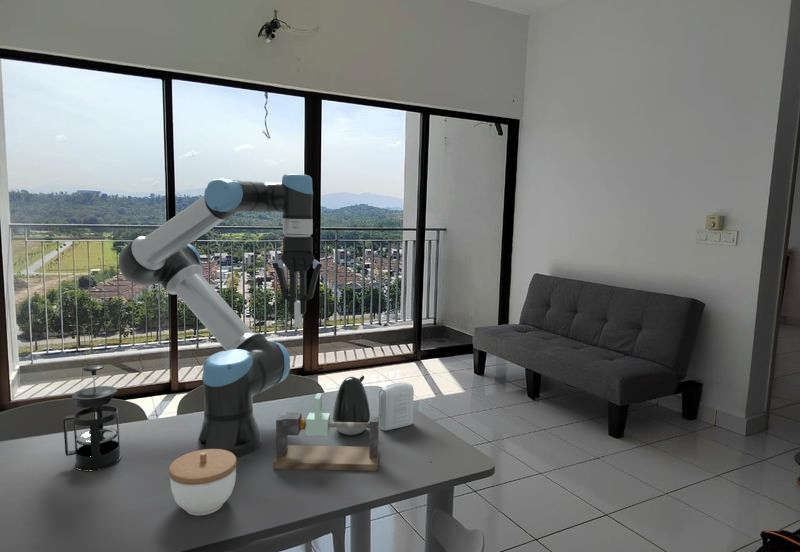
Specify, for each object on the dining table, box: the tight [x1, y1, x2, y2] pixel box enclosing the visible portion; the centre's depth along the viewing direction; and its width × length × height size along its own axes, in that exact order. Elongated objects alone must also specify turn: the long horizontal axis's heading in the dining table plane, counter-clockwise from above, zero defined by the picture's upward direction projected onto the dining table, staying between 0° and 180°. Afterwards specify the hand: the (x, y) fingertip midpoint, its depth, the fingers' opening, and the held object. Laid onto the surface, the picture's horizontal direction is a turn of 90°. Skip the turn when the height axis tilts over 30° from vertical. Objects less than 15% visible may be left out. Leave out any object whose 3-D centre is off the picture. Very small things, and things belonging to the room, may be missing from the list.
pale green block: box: [305, 392, 331, 437], centre depth 123 cm, size 5×4×9 cm
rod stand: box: [272, 411, 380, 472], centre depth 124 cm, size 24×9×11 cm, turn 90°
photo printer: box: [378, 381, 415, 432], centre depth 144 cm, size 10×4×12 cm, turn 123°
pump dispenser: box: [332, 374, 371, 436], centre depth 140 cm, size 10×10×15 cm
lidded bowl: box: [168, 449, 237, 517], centre depth 104 cm, size 13×13×11 cm
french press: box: [62, 364, 122, 472], centre depth 120 cm, size 12×9×23 cm
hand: (298, 325), depth 136 cm, fingers closed
